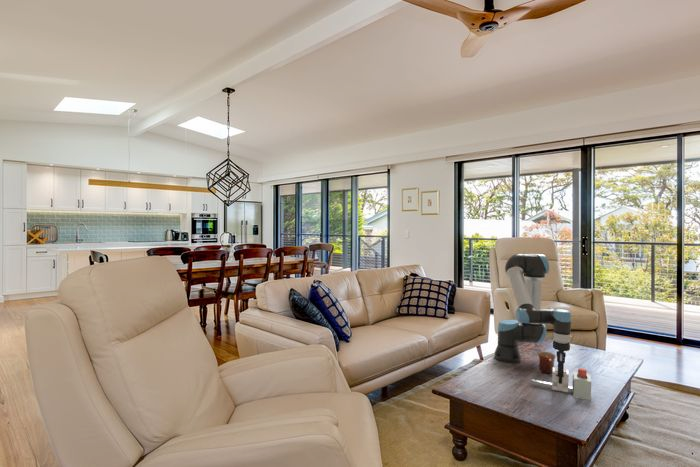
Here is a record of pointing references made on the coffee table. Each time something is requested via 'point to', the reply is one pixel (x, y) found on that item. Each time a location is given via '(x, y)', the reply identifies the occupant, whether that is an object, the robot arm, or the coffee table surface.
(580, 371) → the button
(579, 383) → the end cabinet
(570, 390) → the rail
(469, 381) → the coffee table surface
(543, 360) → the mug
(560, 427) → the coffee table surface
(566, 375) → the cream and grey block
